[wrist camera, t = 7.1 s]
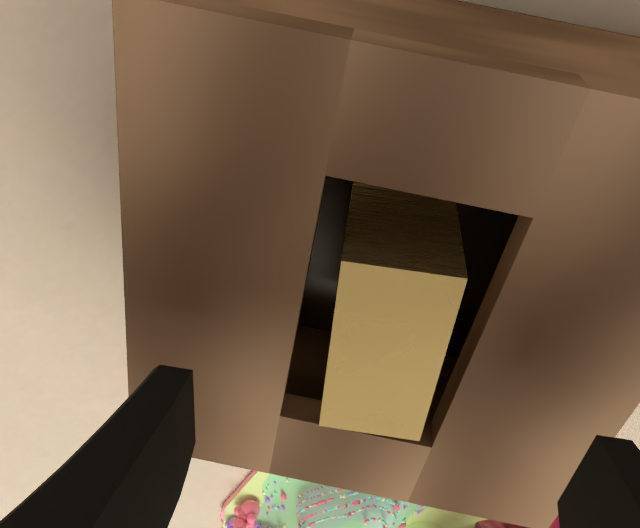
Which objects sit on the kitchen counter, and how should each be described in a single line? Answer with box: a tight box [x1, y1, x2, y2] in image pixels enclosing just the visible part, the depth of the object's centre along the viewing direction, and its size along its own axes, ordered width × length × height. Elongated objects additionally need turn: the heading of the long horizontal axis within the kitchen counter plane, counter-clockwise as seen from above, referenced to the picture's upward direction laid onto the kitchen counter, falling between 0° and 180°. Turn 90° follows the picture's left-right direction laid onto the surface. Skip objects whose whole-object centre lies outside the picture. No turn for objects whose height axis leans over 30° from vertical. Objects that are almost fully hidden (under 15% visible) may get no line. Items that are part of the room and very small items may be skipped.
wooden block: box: [319, 181, 468, 441], centre depth 15 cm, size 2×5×6 cm, turn 175°
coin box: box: [112, 0, 640, 528], centre depth 15 cm, size 12×12×6 cm
